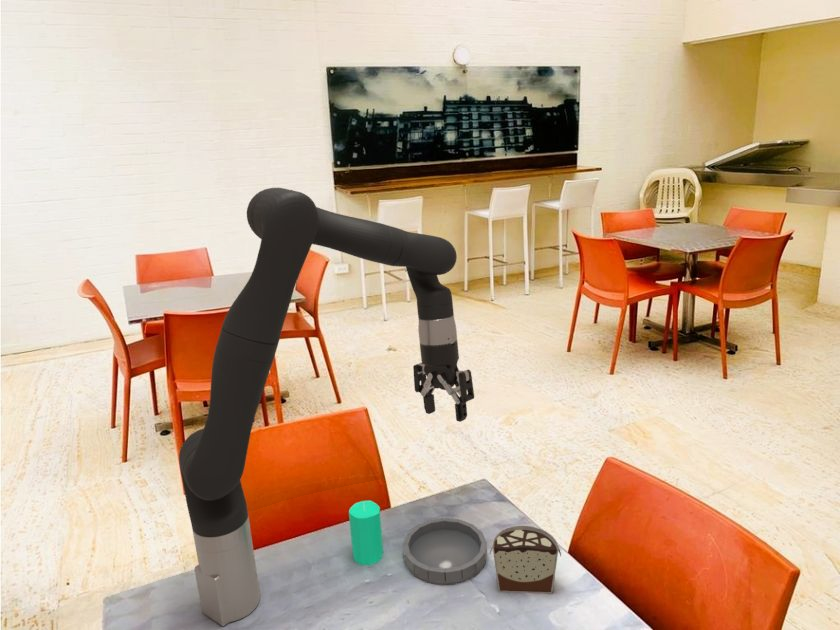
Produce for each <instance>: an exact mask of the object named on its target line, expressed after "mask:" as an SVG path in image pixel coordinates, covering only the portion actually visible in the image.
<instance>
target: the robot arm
mask: <svg viewBox="0 0 840 630" xmlns="http://www.w3.org/2000/svg"><path fill="white" fill-rule="evenodd" d="M246 219H247V224H248V225H249V228H250V229H251V231H252V232H253V234H254V235H255V236H257V237H258V238H259V239H260V245H259V249H258V253H257V258H256V261H255V264H254V268H253V270H252V272H251V275H250V276H249V279H248V280H247V282H246V284H245V285H244V286H243V288H242V290H241V291H240V293H238V295H237V297H236V298H235V300H234V301H233V302H232V304H231V306H230V308H229V309H228V310H227V313H226V314H225V316H224V320H223V322H222V325H221V329H220V333H219V336H218V340H217V343H216V346H215V349H214V354H213V360H212V366H211V367H212V368H211V378H210V395H209V398H210V399H209V407H208V413H207V417H206V421H205V424H204V427H203V428H202V429H199V430H196V431H193V433H191V434H190V435H189V436H187V438H186V439H185V441H183V443H182V445H181V447H180V450H179V454H178V462H179V463H178V464H179V470H180V475H181V480H182V486H183V491H184V496H185V501H186V507H187V510H188V514H189V519H190V523H191V524H190V525H191V529H192V535H193V540H194V546H195V552H196V557H197V562H198V564H197V565H196V566H194V570H193V571H194V575H195V580H196V586H197V592H198V597H199V603H200V607H201V608H200V609H201V612H202V613H203V614H204V615H205V616H207V617H208V618H210V619H212V620H213V621H214V622H216V623H217V624H219V625H220V626H221V627H224V626H226V625H228V624H229V623H231V622H235V621H239V620H241V619H243V618H246V617H247V616H249V615H250V614H251V613H252V612H254V611H255V609H256V608H257V607H258V605H259V603H260V601H261V593H260V592H261V591H260V584H259V579H258V572H257V565H256V558H255V551H254V545H253V538H252V531H251V524H250V518H249V510H248V504H247V500H246V496H245V493H244V490H243V485H242V481H241V479H242V477H243V474H244V470H245V467H246V460H247V455H248V451H249V443H250V439H251V433H252V428H253V424H254V422H255V421H254V420H255V417H256V414H257V410H258V408H259V405H260V402H261V399H262V395H263V393H264V390H265V386H266V383H267V380H268V378H269V377H268V376H269V374H270V371H271V368H272V366H273V363H274V359H275V357H276V354H277V353H276V352H277V349H278V347H279V343H280V338H281V335H282V330H283V327H284V323H285V320H286V317H287V314H288V311H289V308H290V304H291V301H292V297H293V293H294V290H295V287H296V284H297V281H298V279H299V276H300V274H301V271H302V268H303V266H304V264H305V263H306V259H307V257H308V254H309V252H310V250H311V247H312V245H315V246H319V247H323V248H329V249H332V250H335V251H338V252H341V253H344V254H347V255H350V256H353V257H355V258H358V259H359V258H360V259H363V260H366V261H369V262H373V263H377V264H382V265H386V266H389V267H399V268H400V267H403V268H404V267H405V269H406V273H407V276H408V278H409V282H410V284H411V287H412V290H413V292H414V295H415V299H416V305H417V306H416V308H417V317H418V318H417V319H418V325H417V326H418V331H417V332H418V338H419V350H420V359H421V362H419V363H416V364H414V365H413V366H412V368H413V383H414V384H413V385H414V392H416V393H420V395H421V397H422V399H423V408H424V410H425V411H424V412H425V414H426V415H427V414H428V415H430V414H433V413H435V412H436V403H435V394H434V391H435V390H436V389H440V390H442V391H446V393H447V395H449V396H451V397H452V399H453V400H454V409H455V410H454V411H455V418H456V419H455V420H456V421H457V422H461V423H462V422H463V421H465V420H466V419H467V417H468V408H467V403H468V402H470V401H471V400H474V399H475V393H474V392H475V391H474V390H475V389H474V385H473V376H472V371H471V370H470V369H466V370H460V369H459V368H458V362H459V359H460V354H459V346H458V344H459V343H458V332H457V325H456V321H455V315H454V312H455V311H454V304H453V294H452V291H451V289H450V288H449V287H447V286H445V285H444V284H442V283H441V282H440V281H439V280H440V279H439V278H438V276H442V275H445V274H447V273H449V272H450V271H452V270H453V268H454V267H455V266H456V263H457V252H456V248H455V247H454V245H453V244H452V243H451V242H450V241H449V240H447V239H445V238H443V237H439V236H436V235H431V234H423V233H417V232H410V231H407V230H404V229H402V228H398V227H395V226H391V225H388V224H384V223H381V222H377V221H372V220H370V219H369V220H368V219H363V218H358V217H354V216H350V215H345V214H341V213H336V212H333V211H330V210H326V209H323V208H320V207H319V206H318V207H317V206H316V203H315V202H314V201H313V199H312V198H311V197H310V196H308V195H307V194H305V193H303V192H301V191H297V190H294V189H288V188H283V187H270V188H264V189H263V190H260V191H259V192H257V193H255V195H254V196H253V197H251V199H250V201H249V203H248V204H247V208H246ZM454 386H455V387H454Z"/></svg>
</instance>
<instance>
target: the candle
mask: <svg viewBox="0 0 840 630" xmlns="http://www.w3.org/2000/svg"><path fill="white" fill-rule="evenodd" d="M348 517H349V529H350V537H351V538H350V540H351V550H352V558H353V561H354V562H355V563H356V564H359V565H361V566H372V565H373V564H376V563H378V562H380V560H382V559H383V554H384V545H383V535H382V534H383V532H382V521H381V518H382V517H381V507H380V506H379V504H378V503H376V502H374V501H373V500H361V501H358V502H355V503H354V504H353V505H352V506H351V507H349V510H348Z"/></svg>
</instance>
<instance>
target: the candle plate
mask: <svg viewBox="0 0 840 630" xmlns="http://www.w3.org/2000/svg"><path fill="white" fill-rule="evenodd" d="M402 548H403V549H402V551H403V556H404V558H403V559H404V563H405V566H406V568H407V570H408V571H409V572H410V574H412V575H413V576H414V577H416V578H417V579H419V580H421V581H422V582H426V583H428V584H434V585H439V586H440V585H441V586H445V585H446V586H448V585H450V584H451V585H456V583H457V584H461V583H464V582H466V581H468V580H469V581H470V580H471V579H472V578H474V577H476V576H477V575H478V574H479V573H480V572H481V571H483V568H484V566H485V564H486V561H487V554H488V553H487V552H488V544H487V540H486V538H485V536H484V533H483V531H481V530H480V529H479V528H478V527H476V526H475V525H474V524H473V523H471V522H468V521H465V520H462V519H459V518H450V517H443V518H435V519H429V520H426V521H424V522H422V523H419V524H417V525H415V526H414V527H413V528H412V529H411V530H410V531H409V532H408V533H407V534H406V535H405V538H404V540H403V543H402Z"/></svg>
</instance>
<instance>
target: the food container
mask: <svg viewBox="0 0 840 630" xmlns="http://www.w3.org/2000/svg"><path fill="white" fill-rule="evenodd" d="M492 552H493V558H494V559H493V560H494V566H495V573H496V581H497V587H498V588H497V589H498V593H506V594H507V593H512V594H538V595H539V594H540V595H541V594H544V595H546V594H547V595H553V590H554V583H555V575H556V569H557V562H558V556H560V557H562V552H561V548H560V545H559V543H558V542H557V539H556V538H554V535H552V534H551V533H549V532H547V530H544V529H541V528H539V527H536V526H532V525H513V526H509V527H506V528H504V529H502V530H501V531H499V532H498V533H497V534H496V535H495V536H494V538H493V540H492V543H491V547H490V550H489V555H491V554H492ZM558 553H559V555H558Z"/></svg>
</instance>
